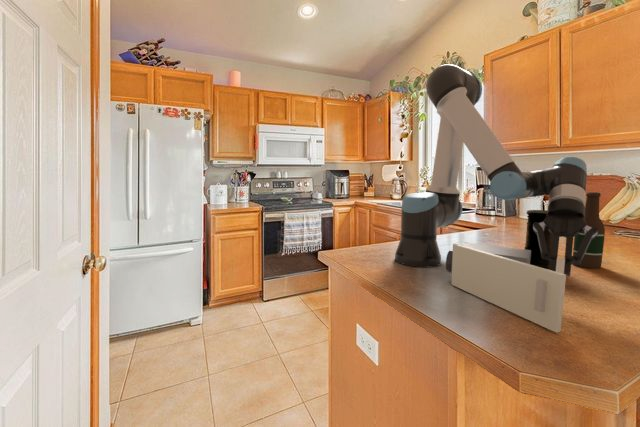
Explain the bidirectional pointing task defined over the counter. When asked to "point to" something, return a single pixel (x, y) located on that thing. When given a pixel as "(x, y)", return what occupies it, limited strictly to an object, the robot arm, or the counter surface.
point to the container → (533, 239)
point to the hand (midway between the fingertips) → (558, 286)
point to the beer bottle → (595, 247)
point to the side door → (511, 285)
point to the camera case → (500, 251)
